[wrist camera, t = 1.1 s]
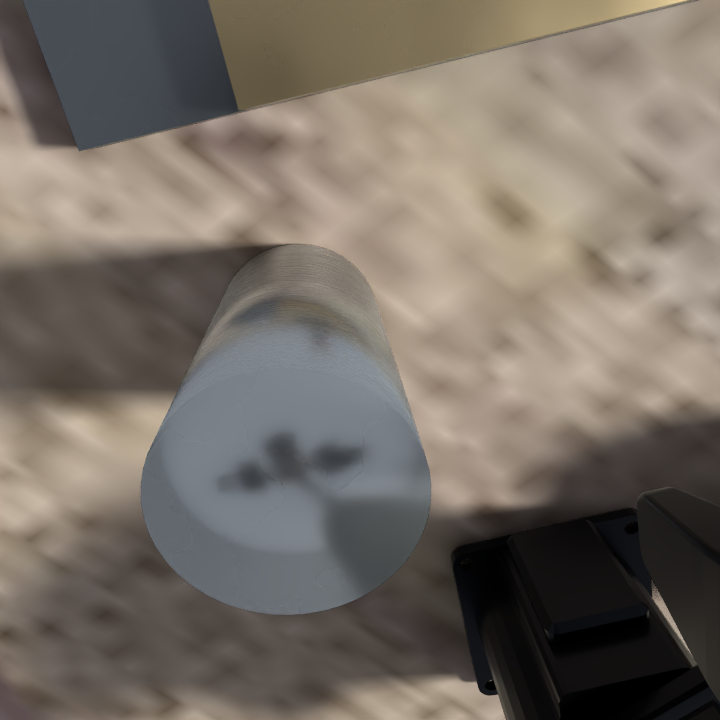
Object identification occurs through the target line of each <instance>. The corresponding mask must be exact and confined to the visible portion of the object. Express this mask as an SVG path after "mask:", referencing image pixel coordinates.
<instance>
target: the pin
mask: <svg viewBox="0 0 720 720" xmlns="http://www.w3.org/2000/svg"><path fill="white" fill-rule="evenodd" d="M430 504H431V479H430V472H429V467H428V464H427V460H426V457H425V454H424V450H423V447H422V444H421V441H420V438H419V435H418V431H417V428H416V425H415V422H414V419H413V416H412V412H411V409H410V406H409V403H408V400H407V397H406V394H405V390H404V387H403V384H402V381H401V378H400V375H399V371H398V368H397V365H396V362H395V359H394V356H393V352H392V349H391V346H390V343H389V340H388V337H387V333H386V330H385V327H384V324H383V321H382V318H381V315H380V311H379V308H378V305H377V302H376V299H375V296H374V293H373V291H372V289H371V286H370V285H369V283H368V281H367V280H366V278H365V277H364V276H363V274H362V273H361V272H360V271H359V270H358V268H356V267H355V266H354V265H353V264H352V263H351V262H350V261H348V260H347V259H345V258H344V257H343V256H341V255H339V254H337V253H335V252H333V251H331V250H328V249H326V248H323V247H319V246H314V245H307V244H289V245H283V246H278V247H275V248H272V249H269V250H267V251H265V252H262V253H260V254H259V255H257V256H255V257H254V258H252V259H251V260H250V261H248V262H247V263H246V264H245V265H244V266H243V267H242V268H241V269H240V270H239V271H238V272H237V273H236V274H235V276H234V277H233V279H232V280H231V282H230V284H229V286H228V288H227V290H226V292H225V294H224V296H223V298H222V300H221V302H220V305H219V307H218V309H217V311H216V313H215V315H214V317H213V319H212V321H211V323H210V325H209V327H208V329H207V331H206V334H205V336H204V338H203V340H202V342H201V344H200V346H199V348H198V350H197V352H196V354H195V356H194V358H193V360H192V362H191V365H190V367H189V369H188V371H187V373H186V375H185V377H184V379H183V381H182V383H181V385H180V387H179V389H178V391H177V394H176V396H175V398H174V400H173V402H172V404H171V406H170V408H169V410H168V412H167V414H166V416H165V418H164V420H163V423H162V425H161V427H160V429H159V431H158V433H157V435H156V437H155V439H154V441H153V443H152V445H151V447H150V450H149V452H148V454H147V457H146V461H145V464H144V467H143V473H142V480H141V505H142V510H143V516H144V520H145V523H146V526H147V529H148V532H149V534H150V536H151V538H152V540H153V542H154V544H155V546H156V548H157V549H158V551H159V552H160V554H161V555H162V556H163V558H164V559H165V561H166V562H167V563H168V564H169V565H170V566H171V567H172V568H173V570H174V571H175V572H176V573H177V574H178V575H179V576H181V577H182V578H183V579H184V580H185V581H187V582H188V583H189V584H190V585H192V586H193V587H195V588H196V589H198V590H199V591H201V592H202V593H204V594H206V595H208V596H210V597H212V598H214V599H216V600H218V601H220V602H222V603H225V604H228V605H231V606H233V607H236V608H240V609H244V610H248V611H252V612H258V613H265V614H277V615H294V614H307V613H313V612H319V611H324V610H328V609H331V608H335V607H338V606H341V605H344V604H346V603H349V602H351V601H354V600H356V599H358V598H360V597H362V596H364V595H365V594H367V593H369V592H371V591H372V590H374V589H375V588H377V587H378V586H380V585H381V584H383V583H384V582H385V581H386V580H387V579H389V578H390V577H391V576H392V575H393V574H394V573H395V572H397V570H398V569H399V568H400V567H401V566H402V565H403V564H404V563H405V561H406V560H407V559H408V558H409V556H410V555H411V553H412V552H413V550H414V549H415V547H416V546H417V544H418V542H419V540H420V538H421V536H422V533H423V531H424V528H425V525H426V522H427V519H428V516H429V510H430Z"/></svg>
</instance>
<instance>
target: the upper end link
mask: <svg viewBox="0 0 720 720" xmlns="http://www.w3.org/2000/svg"><path fill="white" fill-rule="evenodd" d="M208 1H209V5H210V8H211V12H212V15H213V19H214V23H215V26H216V30H217V33H218V37H219V41H220V44H221V48H222V52H223V55H224V59H225V62H226V66H227V70H228V73H229V77H230V80H231V84H232V88H233V91H234V95H235V98H236V102H237V106H238V109H239V110H248V109H252V108H257V107H261V106H265V105H269V104H273V103H277V102H281V101H285V100H289V99H293V98H297V97H301V96H305V95H310V94H314V93H318V92H322V91H326V90H330V89H334V88H338V87H342V86H346V85H350V84H354V83H358V82H363V81H367V80H371V79H375V78H379V77H383V76H387V75H391V74H395V73H399V72H403V71H407V70H411V69H416V68H420V67H424V66H428V65H432V64H436V63H440V62H444V61H448V60H452V59H456V58H460V57H464V56H469V55H473V54H477V53H481V52H485V51H489V50H493V49H497V48H501V47H505V46H509V45H513V44H517V43H522V42H526V41H530V40H534V39H538V38H542V37H546V36H550V35H554V34H558V33H562V32H566V31H570V30H574V29H579V28H583V27H587V26H591V25H595V24H599V23H603V22H607V21H611V20H615V19H619V18H623V17H627V16H632V15H636V14H640V13H644V12H648V11H652V10H656V9H660V8H664V7H668V6H672V5H676V4H680V3H685V2H689V1H693V0H208Z"/></svg>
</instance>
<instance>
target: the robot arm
mask: <svg viewBox="0 0 720 720" xmlns="http://www.w3.org/2000/svg"><path fill="white" fill-rule="evenodd" d="M630 522H633V524H632V525H631V526H628V527H625V526H626V525H627V524H628V523H630ZM466 559H471V561H470V562H469V563H467V564H462V561H464V560H466ZM451 565H452V570H453V575H454V579H455V584H456V589H457V593H458V598H459V603H460V607H461V612H462V617H463V621H464V626H465V630H466V635H467V640H468V644H469V649H470V654H471V658H472V663H473V668H474V672H475V677H476V681H477V685H478V688H479V690H480V692H481V693H483V694H485V695H497V694H498V696H499V699H500V702H501V705H502V708H503V712H504V715H505V718H506V720H720V505H717V504H715V503H712V502H710V501H707V500H705V499H703V498H700V497H698V496H695V495H693V494H690V493H688V492H685V491H683V490H680V489H678V488H675V487H665V488H660V489H656V490H652V491H647V492H643V493H641V494H640V495H639V497H638V500H637V510H636V509H632V508H626V509H621V510H617V511H612V512H608V513H604V514H599V515H595V516H590V517H586V518H582V519H577V520H573V521H569V522H564V523H560V524H555V525H551V526H547V527H542V528H538V529H533V530H529V531H525V532H520V533H516V534H512V535H507V536H503V537H498V538H494V539H490V540H485V541H481V542H477V543H472V544H468V545H463V546H461V547H458V548H457V549H455V550H454V551H453V553H452V555H451ZM651 578H652V580H653V582H654V583H655V585H656V587H657V589H658V591H659V593H660V595H661V597H662V599H663V601H664V602H665V604H666V606H667V608H668V610H669V612H670V614H671V616H672V618H673V620H674V622H675V623H676V625H677V627H678V629H679V631H680V633H681V635H682V637H683V639H684V641H685V642H686V644H687V646H688V648H689V650H690V652H691V654H692V656H693V657H692V656H691V654H690V653H689V651H688V650H687V648H686V647H685V645H684V644H683V642H682V641H681V640H680V638H679V637H678V635H677V634H676V632H675V631H674V629H673V628H672V626H671V625H670V623H669V622H668V621H667V619H666V618H665V616H664V615H663V613H662V612H661V610H660V609H659V607H658V606H657V605H656V603H655V602H654V600H653V599H652V588H651ZM490 680H492V681H490Z"/></svg>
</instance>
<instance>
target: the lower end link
mask: <svg viewBox="0 0 720 720" xmlns="http://www.w3.org/2000/svg"><path fill="white" fill-rule="evenodd" d="M694 1H698V0H693V1H689V2H685V3H680V4H676V5H672V6H668V7H664V8H660V9H656V10H652V11H648V12H644V13H640V14H636V15H632V16H627V17H623V18H619V19H615V20H611V21H607V22H603V23H599V24H595V25H591V26H587V27H583V28H579V29H574V30H570V31H566V32H562V33H558V34H554V35H550V36H546V37H542V38H538V39H534V40H530V41H526V42H522V43H517V44H513V45H509V46H505V47H501V48H497V49H493V50H489V51H485V52H481V53H477V54H473V55H469V56H464V57H460V58H456V59H452V60H448V61H444V62H440V63H436V64H432V65H428V66H424V67H420V68H416V69H411V70H407V71H403V72H399V73H395V74H391V75H387V76H383V77H379V78H375V79H371V80H367V81H363V82H358V83H354V84H350V85H346V86H342V87H338V88H334V89H330V90H326V91H322V92H318V93H314V94H310V95H305V96H301V97H297V98H293V99H289V100H285V101H281V102H277V103H273V104H269V105H265V106H261V107H257V108H252V109H248V110H239V109H238V106H237V102H236V98H235V95H234V91H233V88H232V84H231V80H230V77H229V73H228V70H227V66H226V62H225V59H224V55H223V52H222V48H221V44H220V41H219V37H218V33H217V30H216V26H215V23H214V19H213V15H212V12H211V8H210V5H209V1H208V0H23V2H24V5H25V8H26V10H27V13H28V16H29V18H30V21H31V24H32V26H33V29H34V32H35V34H36V37H37V40H38V42H39V45H40V48H41V50H42V53H43V56H44V58H45V61H46V64H47V67H48V69H49V72H50V75H51V77H52V80H53V83H54V85H55V88H56V91H57V93H58V96H59V99H60V101H61V104H62V107H63V109H64V112H65V115H66V117H67V120H68V123H69V125H70V128H71V131H72V133H73V136H74V139H75V141H76V144H77V147H78V149H79V151H82V150H88V149H93V148H99V147H103V146H107V145H111V144H115V143H119V142H123V141H127V140H131V139H135V138H139V137H144V136H148V135H152V134H156V133H160V132H164V131H168V130H172V129H176V128H180V127H184V126H188V125H192V124H197V123H201V122H205V121H209V120H213V119H217V118H221V117H225V116H229V115H233V114H237V113H241V112H245V111H250V110H254V109H258V108H262V107H266V106H270V105H274V104H278V103H282V102H286V101H290V100H294V99H298V98H303V97H307V96H311V95H315V94H319V93H323V92H327V91H331V90H335V89H339V88H343V87H347V86H351V85H356V84H360V83H364V82H368V81H372V80H376V79H380V78H384V77H388V76H392V75H396V74H400V73H404V72H409V71H413V70H417V69H421V68H425V67H429V66H433V65H437V64H441V63H445V62H449V61H453V60H457V59H462V58H466V57H470V56H474V55H478V54H482V53H486V52H490V51H494V50H498V49H502V48H506V47H510V46H515V45H519V44H523V43H527V42H531V41H535V40H539V39H543V38H547V37H551V36H555V35H559V34H563V33H568V32H572V31H576V30H580V29H584V28H588V27H592V26H596V25H600V24H604V23H608V22H612V21H616V20H621V19H625V18H629V17H633V16H637V15H641V14H645V13H649V12H653V11H657V10H661V9H665V8H669V7H674V6H678V5H682V4H686V3H690V2H694Z"/></svg>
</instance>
